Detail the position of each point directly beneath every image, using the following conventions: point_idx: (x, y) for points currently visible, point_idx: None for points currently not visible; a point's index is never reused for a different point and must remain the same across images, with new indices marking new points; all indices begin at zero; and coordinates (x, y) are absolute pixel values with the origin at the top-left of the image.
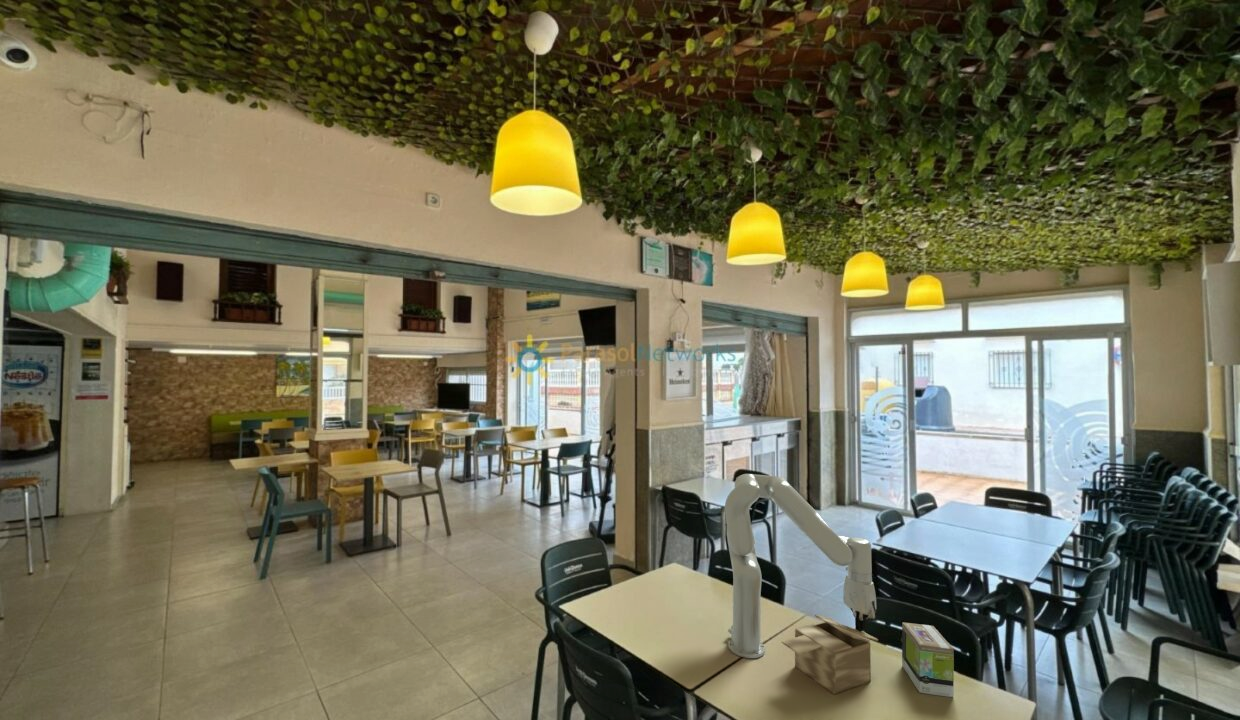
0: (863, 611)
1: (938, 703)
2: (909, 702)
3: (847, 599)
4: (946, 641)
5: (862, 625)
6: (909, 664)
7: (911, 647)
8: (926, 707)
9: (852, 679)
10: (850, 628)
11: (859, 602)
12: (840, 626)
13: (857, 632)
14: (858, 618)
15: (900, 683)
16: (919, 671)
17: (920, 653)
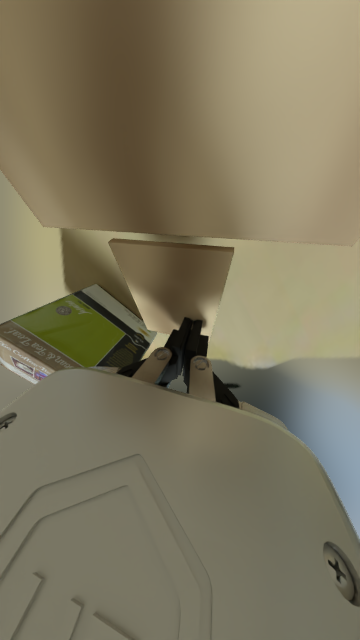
0: (66, 384)
1: (75, 283)
2: (77, 240)
3: (264, 540)
4: (29, 381)
5: (170, 337)
6: (114, 320)
7: (72, 338)
8: (66, 255)
9: None
10: (191, 279)
11: (13, 510)
12: (159, 70)
13: (148, 271)
14: (185, 357)
15: (123, 283)
16: (63, 297)
17: (19, 317)
